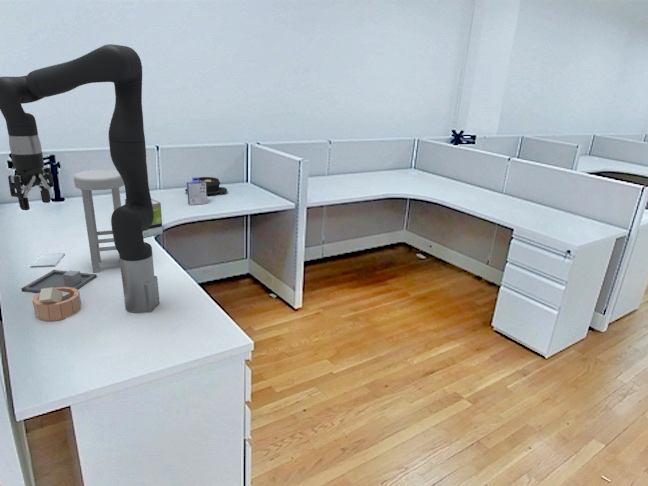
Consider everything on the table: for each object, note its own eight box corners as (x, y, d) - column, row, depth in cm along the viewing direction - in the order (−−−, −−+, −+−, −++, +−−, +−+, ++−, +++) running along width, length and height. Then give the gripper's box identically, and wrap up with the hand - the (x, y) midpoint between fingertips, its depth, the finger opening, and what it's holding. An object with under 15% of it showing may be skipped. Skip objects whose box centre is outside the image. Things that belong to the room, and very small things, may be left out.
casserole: (183, 196, 264) (183, 182, 261) (186, 189, 281) (185, 176, 278) (227, 196, 269) (227, 183, 266) (227, 189, 286) (227, 176, 283)
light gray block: (81, 283, 153) (80, 271, 151) (75, 288, 149) (73, 275, 148) (72, 282, 153) (70, 270, 151) (65, 286, 150) (62, 274, 148)
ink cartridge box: (205, 201, 256) (203, 176, 251) (207, 204, 252) (206, 178, 247) (187, 202, 252) (185, 177, 247) (189, 205, 247) (188, 179, 242)
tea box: (163, 233, 204) (161, 202, 198) (142, 238, 197) (139, 205, 191) (147, 225, 213) (145, 195, 208) (127, 229, 206) (123, 198, 201)
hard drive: (55, 265, 164) (64, 252, 175) (29, 266, 162) (41, 253, 173) (55, 269, 165) (65, 256, 176) (30, 270, 163) (42, 257, 174)
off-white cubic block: (63, 292, 133) (52, 287, 129) (60, 304, 131) (50, 299, 128) (51, 294, 134) (41, 288, 130) (49, 305, 132) (38, 300, 128)
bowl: (89, 304, 141) (87, 289, 139) (64, 323, 130) (61, 307, 128) (54, 300, 142) (51, 285, 140) (26, 318, 131) (23, 302, 129)
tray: (97, 277, 158) (96, 274, 157) (68, 297, 144) (67, 293, 143) (54, 273, 160) (53, 269, 159) (22, 292, 146) (21, 288, 145)
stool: (88, 260, 171) (75, 169, 159) (132, 256, 177) (123, 168, 165) (86, 277, 158) (71, 179, 146) (133, 271, 164) (123, 177, 152)
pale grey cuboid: (72, 306, 137) (69, 292, 136) (62, 311, 134) (60, 298, 132) (62, 304, 138) (60, 290, 137) (52, 309, 135) (50, 296, 133)
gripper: (19, 156, 121) (30, 213, 126) (55, 148, 134) (64, 201, 140) (-6, 154, 122) (5, 211, 127) (32, 146, 135) (41, 199, 140)
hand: (36, 206), depth 133 cm, fingers open, 8 cm apart
